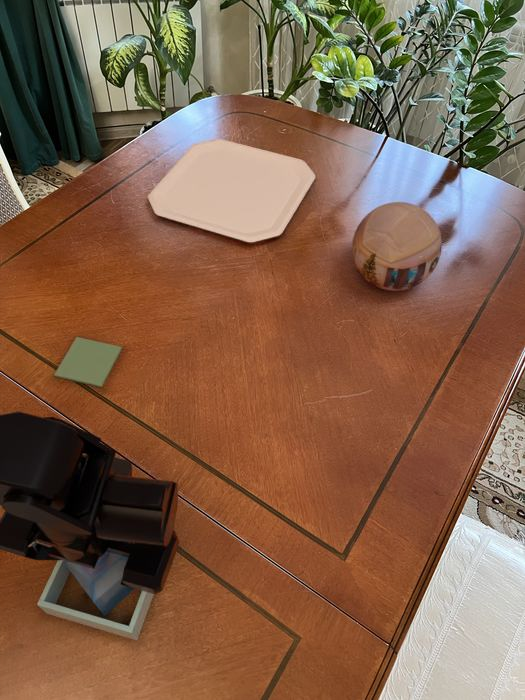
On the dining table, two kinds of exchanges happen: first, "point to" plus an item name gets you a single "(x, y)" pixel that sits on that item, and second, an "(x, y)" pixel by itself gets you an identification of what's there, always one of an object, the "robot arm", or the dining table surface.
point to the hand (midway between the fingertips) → (102, 564)
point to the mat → (88, 362)
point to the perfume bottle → (103, 580)
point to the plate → (233, 190)
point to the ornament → (396, 246)
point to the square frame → (50, 607)
